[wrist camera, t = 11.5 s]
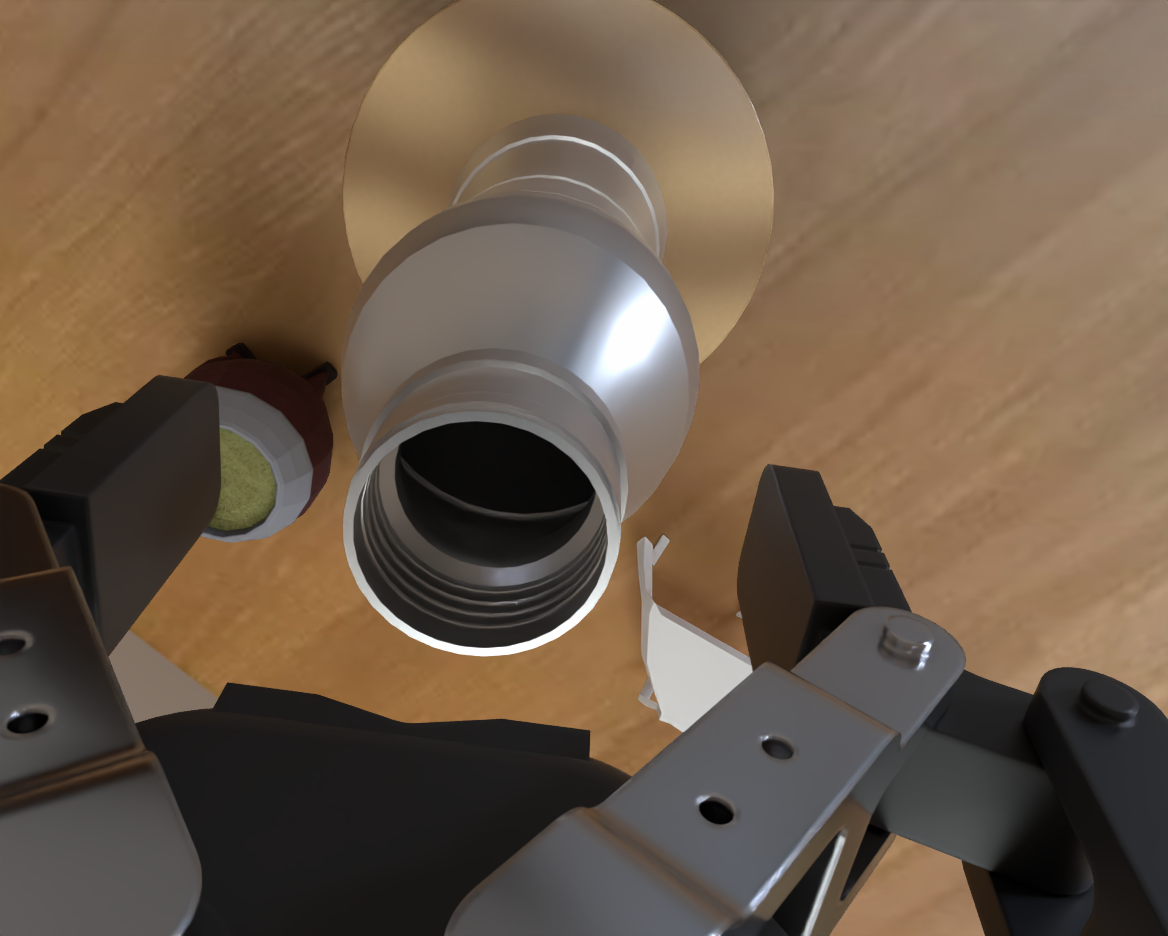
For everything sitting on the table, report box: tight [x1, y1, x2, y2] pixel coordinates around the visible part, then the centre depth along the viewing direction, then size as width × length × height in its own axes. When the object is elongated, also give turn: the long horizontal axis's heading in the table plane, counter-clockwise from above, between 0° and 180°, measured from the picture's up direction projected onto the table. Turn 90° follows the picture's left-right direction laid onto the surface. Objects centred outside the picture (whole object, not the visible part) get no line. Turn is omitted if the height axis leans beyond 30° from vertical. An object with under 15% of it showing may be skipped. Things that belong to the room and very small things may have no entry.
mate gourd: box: [184, 343, 338, 543], centre depth 36 cm, size 8×8×15 cm
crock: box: [343, 0, 774, 365], centre depth 34 cm, size 14×14×9 cm
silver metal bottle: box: [341, 114, 699, 656], centre depth 21 cm, size 6×7×20 cm
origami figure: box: [637, 534, 753, 732], centre depth 45 cm, size 12×8×5 cm
